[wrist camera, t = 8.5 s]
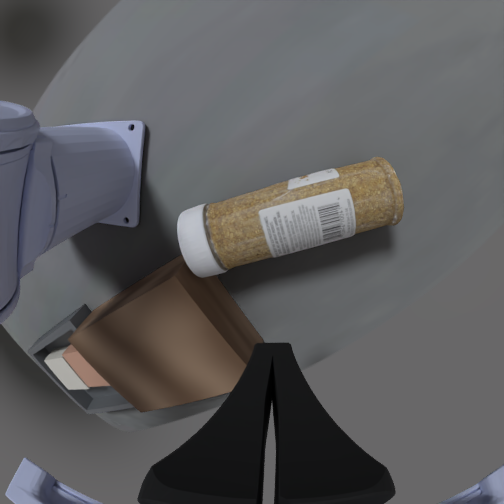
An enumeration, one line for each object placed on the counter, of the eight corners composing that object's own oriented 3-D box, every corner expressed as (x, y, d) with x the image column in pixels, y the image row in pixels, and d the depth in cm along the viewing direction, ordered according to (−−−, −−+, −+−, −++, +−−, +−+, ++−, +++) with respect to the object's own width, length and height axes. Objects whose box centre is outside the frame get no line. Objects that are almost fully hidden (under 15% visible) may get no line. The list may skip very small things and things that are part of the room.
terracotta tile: (97, 334, 24) (86, 349, 21) (124, 369, 25) (115, 385, 23) (72, 341, 24) (61, 354, 22) (97, 373, 26) (88, 387, 24)
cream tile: (43, 360, 23) (53, 348, 26) (68, 389, 25) (76, 377, 27) (62, 357, 22) (72, 344, 25) (89, 389, 24) (97, 375, 26)
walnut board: (195, 246, 20) (175, 275, 15) (263, 339, 23) (261, 381, 18) (93, 310, 23) (67, 339, 18) (155, 378, 26) (140, 412, 21)
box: (85, 303, 23) (69, 320, 20) (158, 384, 26) (150, 404, 24) (39, 338, 26) (27, 351, 23) (96, 399, 30) (88, 414, 27)
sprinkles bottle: (376, 142, 15) (176, 197, 17) (412, 190, 12) (171, 255, 14) (374, 191, 19) (204, 237, 21) (400, 239, 16) (206, 290, 18)
